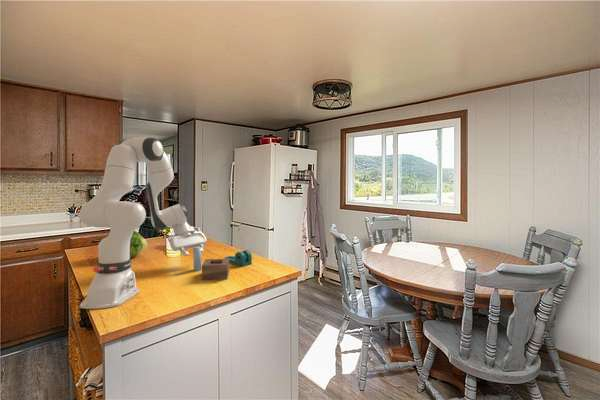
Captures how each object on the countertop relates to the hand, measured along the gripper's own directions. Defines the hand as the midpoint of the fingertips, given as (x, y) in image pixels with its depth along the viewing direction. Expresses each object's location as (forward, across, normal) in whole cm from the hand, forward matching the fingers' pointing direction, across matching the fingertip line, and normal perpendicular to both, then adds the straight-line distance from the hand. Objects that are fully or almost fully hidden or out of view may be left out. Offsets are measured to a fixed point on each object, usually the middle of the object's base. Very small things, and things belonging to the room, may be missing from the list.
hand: (194, 253), depth 160 cm
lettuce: (-31, -12, +43) cm, 54 cm away
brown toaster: (+19, 0, -7) cm, 20 cm away
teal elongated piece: (+12, +22, +1) cm, 26 cm away
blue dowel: (+8, 0, +4) cm, 9 cm away
